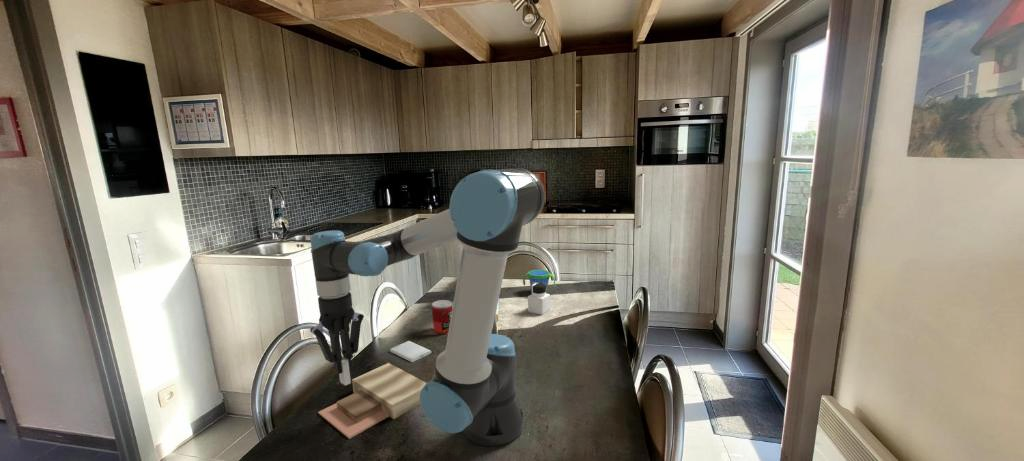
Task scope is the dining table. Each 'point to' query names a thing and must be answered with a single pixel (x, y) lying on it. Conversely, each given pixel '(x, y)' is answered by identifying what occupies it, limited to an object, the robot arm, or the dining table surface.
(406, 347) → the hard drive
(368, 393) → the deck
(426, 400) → the robot arm
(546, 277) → the snack cup
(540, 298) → the medicine bottle
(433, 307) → the canned food
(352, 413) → the wooden block
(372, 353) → the dining table surface
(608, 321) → the dining table surface
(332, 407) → the mat
